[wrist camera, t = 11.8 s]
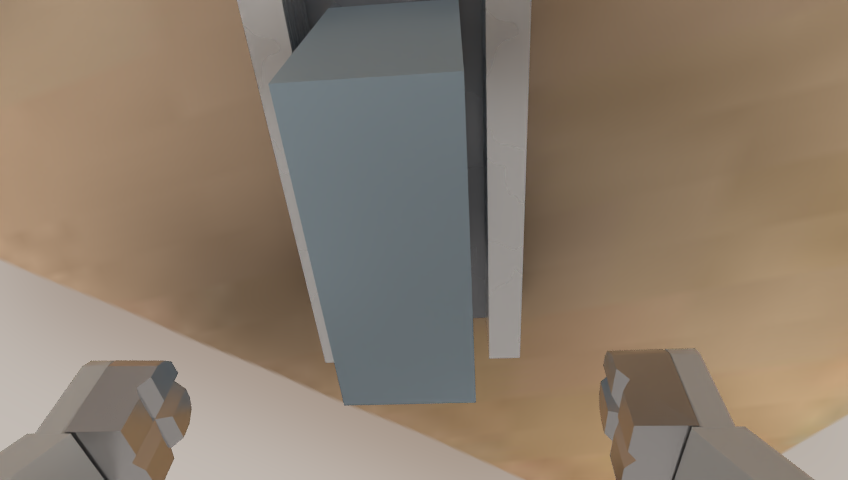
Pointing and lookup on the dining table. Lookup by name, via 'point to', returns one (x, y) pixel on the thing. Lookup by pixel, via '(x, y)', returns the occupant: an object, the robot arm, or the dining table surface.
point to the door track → (485, 135)
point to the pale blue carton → (385, 196)
